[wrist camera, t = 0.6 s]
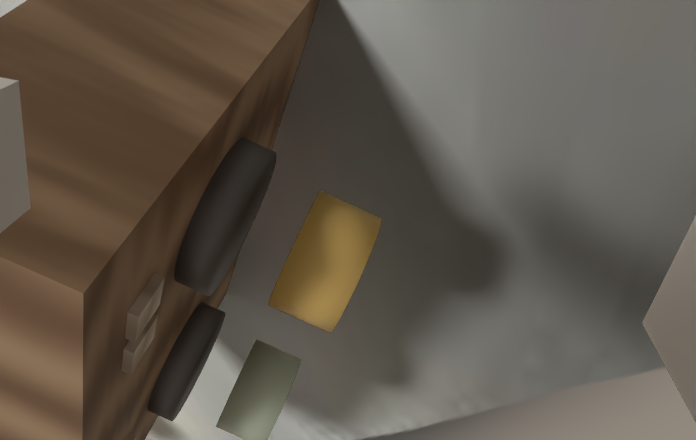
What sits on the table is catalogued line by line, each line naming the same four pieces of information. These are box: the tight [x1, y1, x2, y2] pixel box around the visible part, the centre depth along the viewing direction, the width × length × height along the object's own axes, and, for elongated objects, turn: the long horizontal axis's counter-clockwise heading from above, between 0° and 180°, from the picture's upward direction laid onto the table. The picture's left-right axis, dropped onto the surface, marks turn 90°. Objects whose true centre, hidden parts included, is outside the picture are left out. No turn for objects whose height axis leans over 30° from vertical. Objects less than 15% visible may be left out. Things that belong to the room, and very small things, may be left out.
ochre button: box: [268, 190, 382, 333], centre depth 27 cm, size 6×3×6 cm, turn 161°
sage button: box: [216, 340, 301, 440], centre depth 38 cm, size 6×3×6 cm, turn 161°
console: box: [0, 0, 319, 440], centre depth 32 cm, size 28×10×20 cm, turn 161°
